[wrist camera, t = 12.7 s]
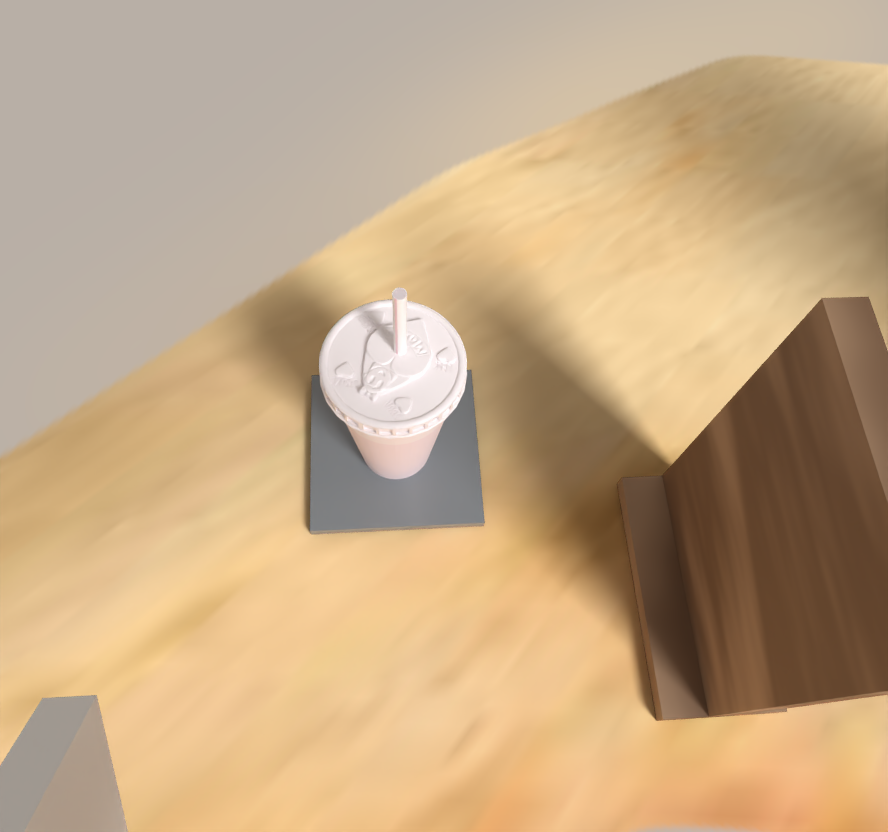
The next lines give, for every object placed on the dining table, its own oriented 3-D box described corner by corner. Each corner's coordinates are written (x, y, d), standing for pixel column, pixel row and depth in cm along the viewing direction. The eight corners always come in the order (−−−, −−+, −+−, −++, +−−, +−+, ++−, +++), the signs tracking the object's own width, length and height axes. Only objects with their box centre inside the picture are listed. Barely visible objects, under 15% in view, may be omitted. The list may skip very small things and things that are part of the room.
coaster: (470, 374, 43) (471, 369, 43) (483, 525, 40) (484, 522, 39) (312, 380, 43) (311, 375, 42) (311, 534, 39) (310, 531, 38)
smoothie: (476, 430, 41) (508, 283, 29) (414, 526, 39) (418, 412, 26) (378, 374, 42) (367, 209, 30) (312, 464, 40) (269, 326, 27)
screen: (723, 479, 41) (931, 295, 25) (777, 712, 36) (1080, 673, 20) (617, 483, 41) (757, 299, 25) (656, 720, 36) (865, 687, 20)
